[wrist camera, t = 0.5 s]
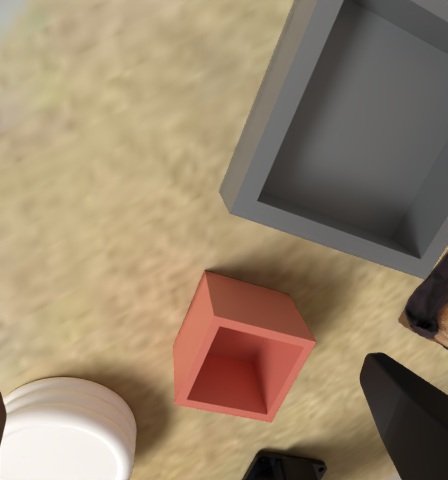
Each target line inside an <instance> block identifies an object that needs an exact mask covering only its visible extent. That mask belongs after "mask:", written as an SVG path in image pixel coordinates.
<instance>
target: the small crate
mask: <svg viewBox="0 0 448 480" xmlns="http://www.w3.org/2000/svg"><path fill="white" fill-rule="evenodd" d="M315 344H316V341H315V339H314V337H313V335H312V334H311V332H310V330H309V329H308V327H307V325H306V323H305V322H304V320H303V318H302V317H301V315H300V313H299V311H298V310H297V308H296V306H295V305H294V303H293V301H292V299H291V298H290V296H289V295H288V294H285V293H281V292H278V291H274V290H271V289H267V288H264V287H261V286H257V285H254V284H250V283H247V282H243V281H240V280H236V279H233V278H229V277H226V276H223V275H219V274H216V273H212V272H209V271H205V270H204V273H203V275H202V278H201V280H200V283H199V285H198V287H197V290H196V292H195V295H194V297H193V300H192V302H191V304H190V307H189V309H188V312H187V314H186V317H185V319H184V321H183V324H182V326H181V329H180V331H179V334H178V336H177V338H176V341H175V343H174V346H173V356H174V393H175V405H180V406H185V407H191V408H196V409H201V410H207V411H212V412H218V413H223V414H229V415H234V416H239V417H245V418H250V419H256V420H261V421H267V422H272V421H273V419H274V417H275V415H276V413H277V412H278V410H279V408H280V406H281V404H282V403H283V401H284V399H285V397H286V395H287V394H288V392H289V390H290V388H291V387H292V385H293V383H294V381H295V379H296V378H297V376H298V374H299V372H300V370H301V369H302V367H303V365H304V363H305V361H306V360H307V358H308V356H309V354H310V353H311V351H312V349H313V347H314V345H315Z"/></svg>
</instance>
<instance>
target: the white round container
mask: <svg viewBox="0 0 448 480" xmlns="http://www.w3.org/2000/svg"><path fill="white" fill-rule="evenodd" d="M3 402H4V405H5V408H6V412H7V418H6V424H5V428H4V433H3V437H2V441H1V445H0V480H129V479H130V476H131V474H132V470H133V467H134V453H135V446H136V444H135V440H136V434H137V429H136V422H135V419H134V415H133V413H132V411H131V409H130V407H129V406H128V405H127V403H126V402H125V401H124V400H123V399H122V398H121V397H120V396H119V395H118V394H116V393H115V392H113V391H112V390H110V389H109V388H107V387H105V386H103V385H100V384H98V383H95V382H92V381H89V380H85V379H79V378H71V377H53V378H46V379H41V380H37V381H33V382H31V383H28V384H25V385H23V386H21V387H19V388H17V389H15V390H14V391H12V392H11V393H9V394H8V395H7V396H6V397H4V398H3Z"/></svg>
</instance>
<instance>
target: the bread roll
mask: <svg viewBox="0 0 448 480" xmlns="http://www.w3.org/2000/svg"><path fill="white" fill-rule="evenodd" d="M398 321H399V323H401V324H402V325H403V326H405V327H406V328H409V330H411V331H413V332H415V333H417V334H419V335H420V336H422V337H425V338H426V339H428V340H430V341H434V342H436V343H438V344H441V345H442V346H443V347H444V348H446V349H448V250H447V252H446V253H445V255H444V256H443V257H442V259H441V260H440V262H439V263H438V264H437V265H436V267H435V268H434V269H433V270H432V272H431V273H430V275H429V276H428V277H427V279H426V280H425V281H424V282H423V283H422V284H421V285H420V286H418V287H417V288H416V290H415V291H414V293H413V294H412V295H411V296H410V298H409V299H408V302H407V305H406V307H405V309H404V311H403V312H402V314H401V316H400V317H399V319H398Z"/></svg>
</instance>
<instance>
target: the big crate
mask: <svg viewBox="0 0 448 480" xmlns="http://www.w3.org/2000/svg"><path fill="white" fill-rule="evenodd" d="M219 193H220V195H221V197H222V199H223V201H224V203H225V205H226V207H227V209H228V211H229V213H230V214H233V215H236V216H239V217H242V218H245V219H248V220H251V221H254V222H257V223H260V224H263V225H266V226H268V227H271V228H274V229H277V230H280V231H283V232H286V233H289V234H292V235H295V236H298V237H301V238H304V239H307V240H310V241H313V242H316V243H319V244H322V245H324V246H327V247H330V248H333V249H336V250H339V251H342V252H345V253H348V254H351V255H354V256H357V257H360V258H363V259H366V260H369V261H372V262H375V263H378V264H380V265H383V266H386V267H389V268H392V269H395V270H398V271H401V272H404V273H407V274H410V275H413V276H416V277H419V278H422V279H425V280H426V278H427V276H428V275H429V273H430V272H431V270H432V269H433V267H434V265H435V264H436V262H437V261H438V259H439V257H440V256H441V254H442V253H443V251H444V250H445V248H446V246H447V245H448V0H294V3H293V5H292V8H291V10H290V13H289V15H288V18H287V20H286V23H285V25H284V28H283V30H282V33H281V35H280V38H279V41H278V43H277V46H276V48H275V51H274V53H273V56H272V58H271V61H270V63H269V66H268V68H267V71H266V73H265V76H264V78H263V81H262V84H261V86H260V89H259V91H258V94H257V96H256V99H255V101H254V104H253V106H252V109H251V111H250V114H249V116H248V119H247V121H246V124H245V127H244V129H243V132H242V134H241V137H240V139H239V142H238V144H237V147H236V149H235V152H234V154H233V157H232V159H231V162H230V164H229V167H228V170H227V172H226V175H225V177H224V180H223V182H222V185H221V187H220V190H219Z"/></svg>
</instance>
